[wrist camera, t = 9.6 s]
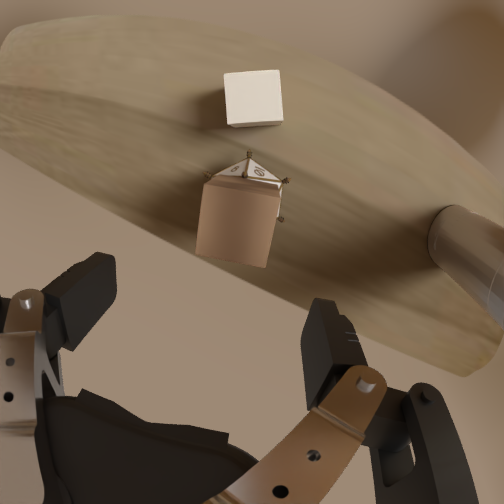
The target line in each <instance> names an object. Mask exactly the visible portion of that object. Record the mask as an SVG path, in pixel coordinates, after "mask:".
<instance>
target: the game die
mask: <svg viewBox="0 0 504 504" xmlns="http://www.w3.org/2000/svg"><path fill="white" fill-rule="evenodd" d="M251 156H252V152H251V150H250V149H249V151H248V152H247V158H246V159H244V160H242V161H240V162H238V163H236V164H234V165H232V166H230V167H228V168H226V169H224V170H222V171H220V172H218V173H216V174H214V175H211V174H210V173H208V172H203V173H204V175H205V177H207V178H210V180H211V179H213V178H214V177H216V176H217V175H219V174H222V175H228V176H234V177H240V178H246V179H251V180H256V181H262V182H267V183H272V184H277V185H278V188H279V192H280V197H281V198H282V190H283V184H284V183H286V184H287V183H289V181H290V180H291V178H287V177H286V178H285V179H284V180H281V179H279V178H278V177H277V176H275V175H274V174H272V173H271V172H270V171H268V170H267V169H266V168H264V167H263V166H261V165H260V164H258V163H257V162H256V161H254V160H253V159H251ZM280 206H281V199H280V204H279V209H278V213H277V218H276V220H277V219H278V220H279V221H280V222H285V221H284V218H282V217H279V213H280Z"/></svg>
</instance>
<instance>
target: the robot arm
mask: <svg viewBox="0 0 504 504" xmlns="http://www.w3.org/2000/svg"><path fill="white" fill-rule="evenodd" d="M428 251H429V255H430V256H431V258H432V260H433V261H434V262H435V263H436V264H437V265H438V266H439V267H440V268H442V269H443V270H444V271H445V272H446V273H447V274H448V275H449V276H450V277H451V278H452V279H453V280H455V281H456V282H457V283H458V284H459V285H460V286H461V287H462V288H463V289H464V290H465V291H466V292H467V293H468V294H469V295H470V296H471V297H472V298H473V299H474V300H475V301H476V302H477V303H478V304H479V305H480V306H481V307H482V308H483V309H484V310H485V311H486V312H487V313H488V314H489V315H490V316H491V317H492V318H493V319H494V320H495V321H496V322H497V323H498V325H499V326H500V327H501V328H502V329H503V330H504V227H502V226H501V225H499V224H497V223H495V222H493V221H491V220H489V219H487V218H485V217H483V216H481V215H479V214H477V213H475V212H473V211H471V210H468V209H466V208H464V207H462V206H459V205H452V206H449V207H447V208H445V209H444V210H442V211H441V212H440V213H439V214H438V215H437V216H436V218H435V220H434V221H433V223H432V225H431V228H430V231H429V235H428ZM116 294H117V284H116V262H115V258H114V256H112V255H109V254H105V253H101V252H96V253H94V254H93V255H91V256H90V257H89V258H87V259H86V260H84V261H82V262H79V263H77V264H74V265H73V266H71V267H70V268H69V269H67V271H65V272H64V273H62V274H61V275H60V276H58V277H57V278H56V279H55V280H53V281H52V282H51V283H50V284H48V285H47V286H46V287H45V288H43V289H42V290H41V291H39V290H36V289H26V290H22V291H20V292H18V293H16V294H15V295H14V296H13V297H12V298H11V299H9V298H3V297H1V296H0V504H319V503H320V502H321V500H322V499H323V498H324V497H325V496H326V494H327V493H328V492H329V490H330V489H331V487H332V486H333V485H334V484H335V482H336V481H337V480H338V478H339V477H340V475H341V474H342V473H343V471H344V470H345V468H346V467H347V465H348V464H349V462H350V461H351V459H352V458H353V456H354V455H355V453H356V451H357V450H358V448H359V447H360V445H364V446H368V447H369V448H370V455H371V463H372V471H373V479H374V486H375V497H376V504H479V502H478V498H477V494H476V490H475V486H474V482H473V479H472V475H471V472H470V468H469V465H468V462H467V459H466V456H465V453H464V450H463V447H462V444H461V441H460V439H459V436H458V433H457V430H456V428H455V425H454V423H453V420H452V418H451V415H450V413H449V410H448V408H447V406H446V403H445V401H444V399H443V396H442V395H441V393H440V392H439V391H438V390H437V389H436V388H435V387H433V386H432V385H430V384H427V383H416V384H414V385H413V386H412V387H411V389H410V390H409V391H408V392H404V391H400V390H397V389H393V388H390V387H387V383H386V380H385V378H384V377H383V375H382V374H381V373H379V372H378V371H377V370H375V369H373V368H371V367H368V364H367V361H366V358H365V356H364V353H363V350H362V348H361V345H360V343H359V339H358V337H357V335H356V331H355V329H354V326H353V324H352V323H351V322H350V321H349V320H348V318H347V317H346V316H345V315H339V312H338V309H337V306H336V304H335V302H334V301H332V300H326V299H320V298H315V299H314V300H313V302H312V305H311V308H310V311H309V314H308V317H307V320H306V322H305V326H304V328H303V331H302V336H301V353H302V362H303V371H304V381H305V391H306V402H307V410H308V411H310V412H309V413H308V414H307V415H306V416H305V417H304V418H303V419H302V420H301V421H300V422H299V423H298V424H297V425H296V426H295V428H294V429H293V430H292V431H291V432H290V433H289V434H288V435H287V436H286V437H285V438H284V439H283V440H282V441H281V442H280V443H278V444H277V445H276V446H275V447H274V448H273V449H272V450H271V451H270V452H269V453H268V454H267V455H266V456H265V457H264V458H262V459H261V460H260V461H258V460H257V459H255V458H254V457H253V456H251V455H250V454H248V453H247V452H245V451H244V450H242V449H240V448H238V447H236V446H233V445H231V444H229V443H228V437H229V433H225V432H220V431H214V430H209V429H204V428H200V427H195V426H191V425H177V424H160V423H150V422H146V421H144V420H142V419H140V418H138V417H137V416H135V415H133V414H132V413H130V412H129V411H127V410H126V409H124V408H123V407H121V406H119V405H118V404H116V403H115V402H113V401H111V400H108V399H106V398H103V397H101V396H99V395H96V394H94V393H92V392H89V391H87V390H85V389H82V390H81V391H80V393H79V394H78V396H77V397H72V396H65V393H64V386H63V378H62V368H61V357H60V353H59V350H60V348H61V347H63V348H65V349H67V350H70V351H74V350H75V348H76V347H77V346H78V345H79V343H80V342H81V341H82V340H83V338H84V337H85V336H86V335H87V333H88V332H89V331H90V330H91V329H92V327H93V326H94V325H95V324H96V323H97V321H98V320H99V319H100V318H101V316H102V315H103V314H104V313H105V312H106V311H107V309H108V308H109V307H110V306H111V305H112V304H113V302H114V300H115V298H116ZM411 442H412V446H413V450H414V454H415V460H416V461H415V466H414V462H413V458H412V454H411V449H410V445H409V444H410V443H411Z"/></svg>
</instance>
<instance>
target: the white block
mask: <svg viewBox="0 0 504 504" xmlns="http://www.w3.org/2000/svg"><path fill="white" fill-rule="evenodd" d="M224 84H225V98H226V111H227V124H228V125H230V126H232V127H234V128H238V127H251V126H267V125H280V124H281V123H282V121H283V111H282V98H281V86H280V74H279V70H263V71H248V72H237V73H227V74H224Z"/></svg>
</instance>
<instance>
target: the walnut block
mask: <svg viewBox="0 0 504 504" xmlns="http://www.w3.org/2000/svg"><path fill="white" fill-rule="evenodd" d="M280 199H281V197H280V192H279V188H278V185H277V184H272V183H267V182H262V181H256V180H251V179H246V178H240V177H234V176H228V175H222V174H219V175H217V176H216V177H214V178H213V179H211V180H210V181H208V182H206V183H205V184H204V187H203V194H202V202H201V209H200V217H199V225H198V233H197V242H196V251H195V255H200V256H205V257H210V258H215V259H220V260H225V261H231V262H236V263H241V264H246V265H252V266H257V267H262V268H266V263H267V259H268V254H269V250H270V245H271V241H272V236H273V232H274V227H275V223H276V218H277V213H278V209H279V204H280Z"/></svg>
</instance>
